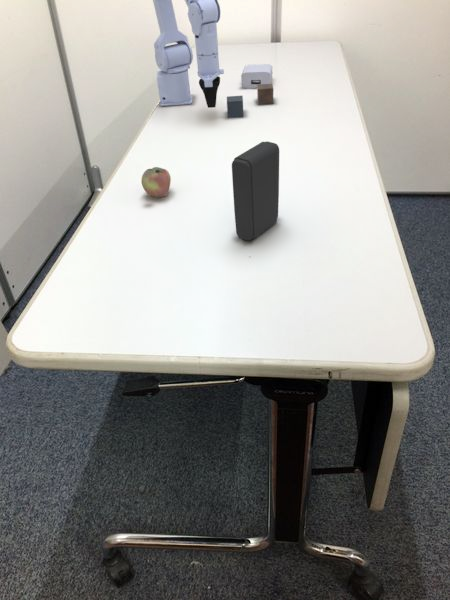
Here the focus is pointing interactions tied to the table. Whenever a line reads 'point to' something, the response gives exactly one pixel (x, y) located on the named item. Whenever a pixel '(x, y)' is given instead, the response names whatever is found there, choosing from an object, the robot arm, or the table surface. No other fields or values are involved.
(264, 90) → the walnut block
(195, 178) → the table surface
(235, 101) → the slate block
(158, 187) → the apple
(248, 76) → the charger
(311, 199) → the table surface
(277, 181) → the dark grey rounded box
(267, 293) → the table surface
